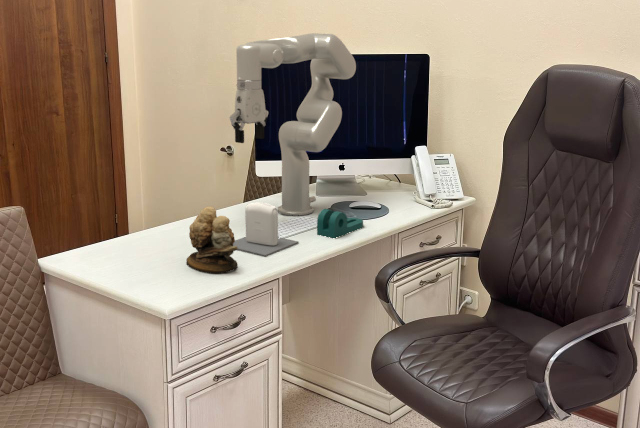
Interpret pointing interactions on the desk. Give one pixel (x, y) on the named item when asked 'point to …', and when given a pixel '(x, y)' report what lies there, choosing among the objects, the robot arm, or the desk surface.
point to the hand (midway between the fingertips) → (249, 140)
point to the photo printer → (261, 223)
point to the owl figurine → (212, 243)
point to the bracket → (336, 223)
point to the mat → (263, 246)
